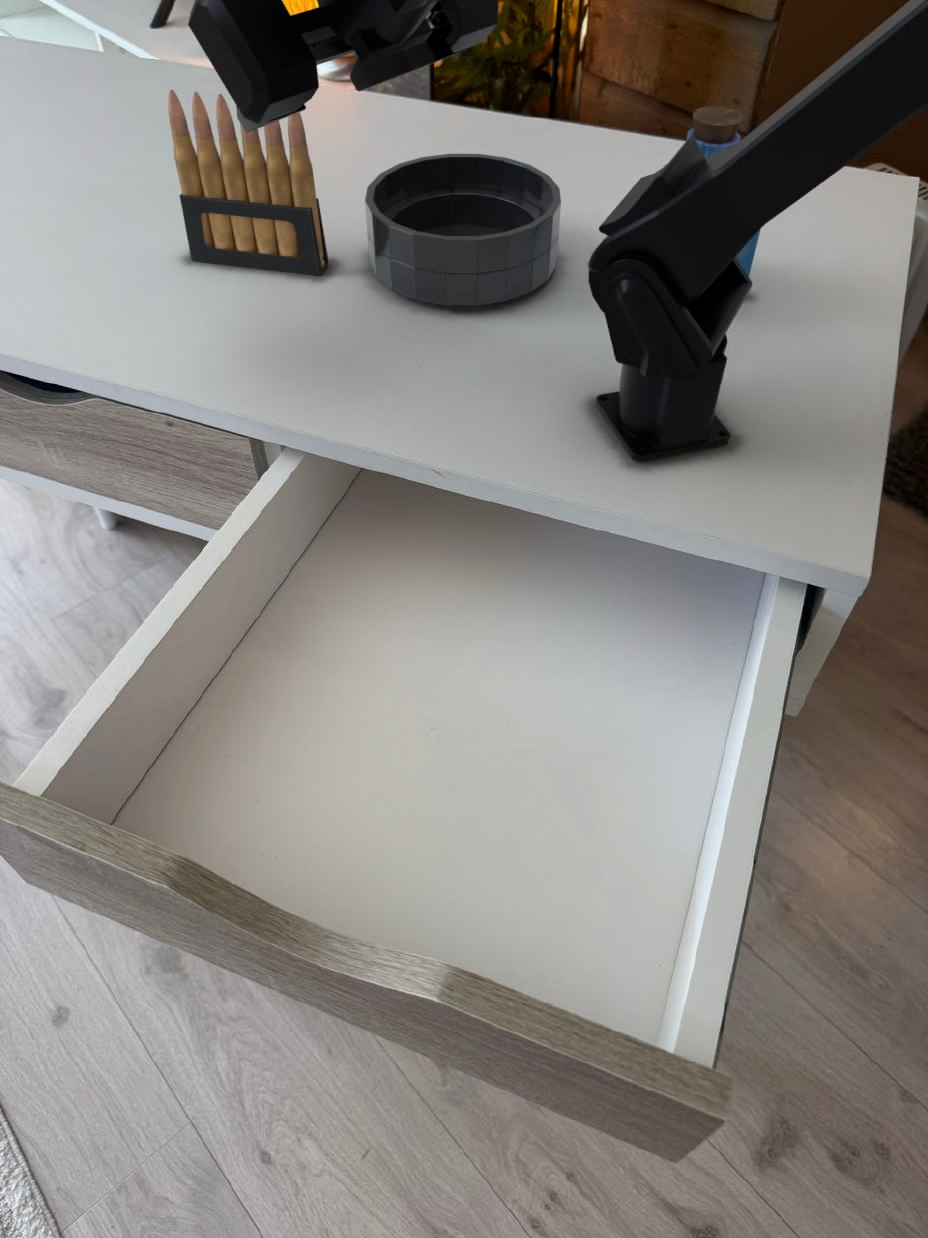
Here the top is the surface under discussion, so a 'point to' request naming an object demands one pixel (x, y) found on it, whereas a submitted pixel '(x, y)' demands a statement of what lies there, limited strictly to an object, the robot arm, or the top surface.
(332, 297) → the top surface
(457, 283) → the bowl
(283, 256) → the ammunition clip
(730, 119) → the perfume bottle
